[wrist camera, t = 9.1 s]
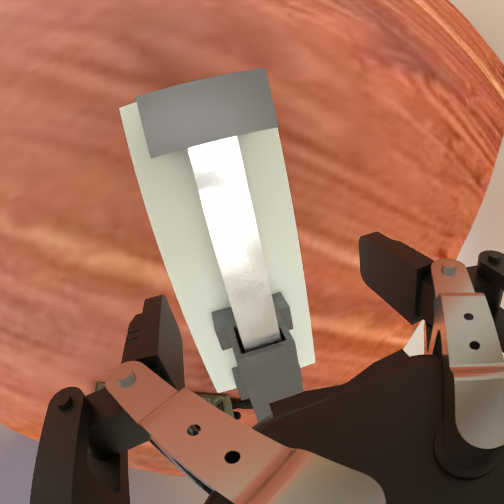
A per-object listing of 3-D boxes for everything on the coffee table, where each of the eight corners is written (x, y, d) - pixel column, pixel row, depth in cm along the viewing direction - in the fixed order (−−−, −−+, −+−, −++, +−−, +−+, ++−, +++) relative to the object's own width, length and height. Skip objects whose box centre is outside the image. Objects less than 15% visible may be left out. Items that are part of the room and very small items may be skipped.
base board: (216, 385, 39) (217, 393, 37) (122, 109, 24) (119, 107, 23) (311, 355, 40) (315, 362, 39) (261, 75, 26) (265, 72, 25)
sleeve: (237, 382, 37) (250, 433, 29) (211, 312, 33) (221, 364, 25) (294, 365, 38) (317, 411, 30) (280, 291, 33) (308, 337, 26)
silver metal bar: (247, 357, 30) (254, 379, 27) (180, 117, 21) (179, 113, 18) (277, 348, 31) (287, 368, 28) (222, 107, 21) (229, 101, 18)
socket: (163, 152, 26) (150, 158, 17) (153, 112, 24) (135, 97, 15) (246, 131, 27) (278, 127, 17) (237, 91, 25) (265, 67, 16)
